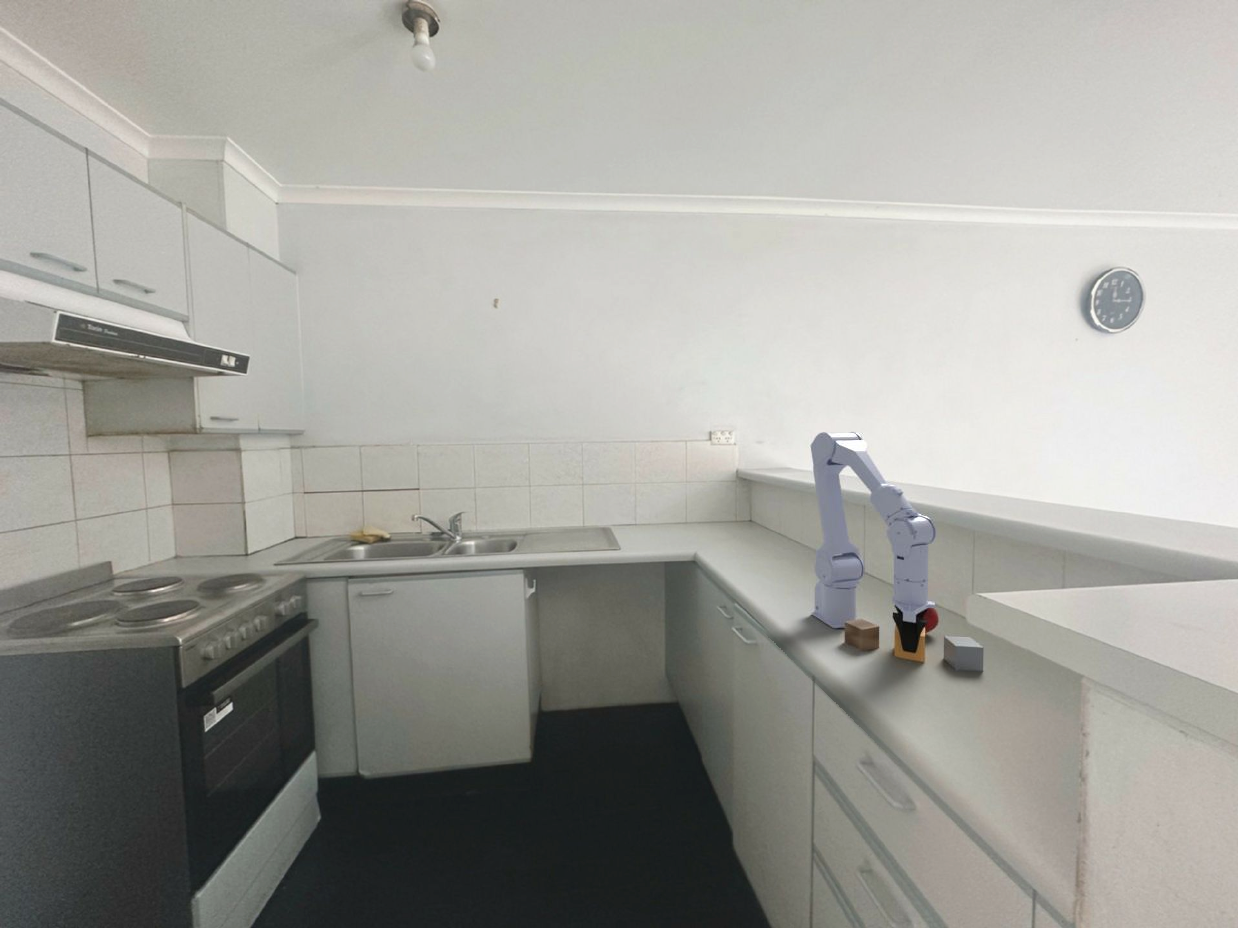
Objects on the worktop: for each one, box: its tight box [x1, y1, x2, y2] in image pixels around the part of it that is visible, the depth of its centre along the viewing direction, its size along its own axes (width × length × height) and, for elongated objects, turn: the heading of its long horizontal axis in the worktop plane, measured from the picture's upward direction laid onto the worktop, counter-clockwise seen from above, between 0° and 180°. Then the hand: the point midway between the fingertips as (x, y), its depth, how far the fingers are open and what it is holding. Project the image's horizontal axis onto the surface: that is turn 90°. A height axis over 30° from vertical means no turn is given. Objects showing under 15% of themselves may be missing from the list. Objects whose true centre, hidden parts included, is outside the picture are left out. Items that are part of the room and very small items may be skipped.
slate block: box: [943, 635, 985, 672], centre depth 89 cm, size 4×4×4 cm
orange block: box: [893, 624, 926, 663], centre depth 93 cm, size 5×5×5 cm
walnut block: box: [844, 618, 880, 652], centre depth 98 cm, size 4×4×4 cm
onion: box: [923, 608, 939, 634], centre depth 103 cm, size 6×6×8 cm
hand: (909, 646), depth 93 cm, fingers closed on orange block, 5 cm apart
